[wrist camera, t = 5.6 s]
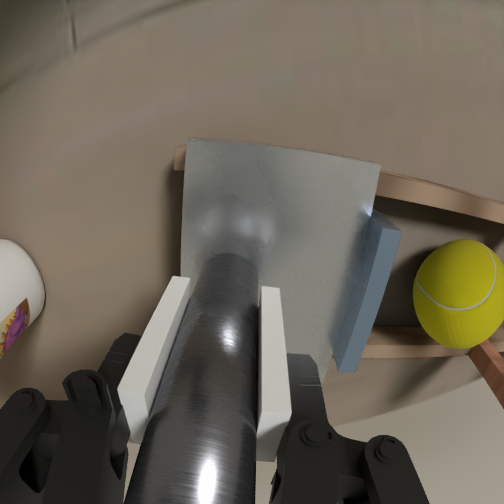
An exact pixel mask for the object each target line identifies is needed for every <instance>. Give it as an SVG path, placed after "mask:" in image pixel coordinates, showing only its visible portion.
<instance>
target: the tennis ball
mask: <svg viewBox="0 0 504 504" xmlns="http://www.w3.org/2000/svg"><path fill="white" fill-rule="evenodd" d="M413 302H414V308H415V311H416V315H417V317H418V320H419V322H420V324H421V325H422V327H423V328H424V330H425V331H426V332H427V333H428V335H429V336H430V337H431V338H433V339H434V340H435V341H436V342H438V343H440V344H441V345H444V346H446V347H449V348H454V349H467V348H471V347H474V346H476V345H478V344H480V343H482V342H483V341H485V340H486V339H488V338H489V337H490V336H491V335H492V334H493V333H494V332H495V331H496V330H497V329H498V327H499V326H500V325H501V323H502V322H503V320H504V265H503V263H502V262H501V260H500V259H499V257H498V256H497V255H496V254H495V253H494V252H493V251H492V250H491V249H490V248H488V247H487V246H486V245H484V244H482V243H481V242H478V241H475V240H469V239H460V240H455V241H451V242H448V243H446V244H444V245H442V246H440V247H438V248H437V249H435V250H434V251H433V252H432V253H431V254H430V255H429V256H428V257H427V258H426V259H425V260H424V262H423V263H422V264H421V266H420V268H419V270H418V272H417V275H416V277H415V280H414V285H413Z"/></svg>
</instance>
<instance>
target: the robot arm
mask: <svg viewBox="0 0 504 504" xmlns="http://www.w3.org/2000/svg"><path fill="white" fill-rule="evenodd" d="M189 301H190V278H186V277H178V276H173V277H172V279H171V281H170V282H169V284H168V286H167V288H166V290H165V292H164V294H163V296H162V298H161V300H160V302H159V304H158V306H157V308H156V310H155V312H154V314H153V316H152V318H151V320H150V322H149V324H148V326H147V328H146V330H145V332H144V334H143V336H139V335H133V334H128V333H124V334H123V335H122V336H120V337H119V338H118V339H116V340H115V341H114V343H113V345H112V347H111V348H110V350H109V352H108V354H107V355H106V357H105V360H104V361H103V362H102V364H101V366H100V368H99V370H98V371H97V372H95V371H92V370H79V371H76V372H73V373H71V374H70V375H68V376H67V377H66V378H65V379H64V381H63V382H62V384H63V387H64V389H65V392H66V394H67V396H68V399H69V400H67V401H56V400H45V398H44V396H43V394H42V393H41V392H39V391H38V390H36V389H33V388H23V389H20V390H18V391H16V392H15V393H14V394H13V395H12V396H11V397H10V398H9V399H8V400H7V402H6V403H5V404H4V405H3V407H2V408H1V409H0V504H123V499H124V488H125V479H126V470H127V462H128V448H127V442H128V439H129V436H131V439H132V442H133V443H137V444H141V443H142V439H143V436H144V433H145V430H146V427H147V424H148V420H149V417H150V414H151V411H152V408H153V405H154V402H155V399H156V396H157V393H158V390H159V387H160V384H161V381H162V378H163V375H164V372H165V369H166V366H167V363H168V360H169V357H170V354H171V351H172V349H173V346H174V343H175V340H176V337H177V334H178V331H179V329H180V326H181V323H182V320H183V318H184V315H185V312H186V309H187V306H188V304H189ZM276 456H277V469H276V472H275V474H274V477H273V479H272V482H271V484H272V491H271V496H270V501H269V504H429V501H428V499H427V496H426V494H425V491H424V489H423V487H422V484H421V482H420V479H419V477H418V475H417V472H416V470H415V468H414V465H413V463H412V461H411V459H410V457H409V454H408V452H407V449H406V448H405V446H404V445H403V443H402V442H401V441H399V440H398V439H396V438H395V437H392V436H389V435H379V436H376V437H373V438H372V439H371V440H369V441H368V442H367V443H366V442H361V441H357V440H352V439H349V438H346V437H343V436H341V435H339V434H338V433H337V432H336V431H335V430H334V429H333V427H332V426H331V425H330V424H329V422H328V419H327V414H326V408H325V403H324V398H323V393H322V388H321V382H320V378H319V372H318V367H317V364H316V363H315V361H314V360H313V359H312V357H311V356H310V355H309V354H292V353H286V346H285V336H284V326H283V316H282V307H281V297H280V288H275V287H265V286H261V293H260V300H259V307H258V364H257V427H256V461H266V462H275V459H276Z"/></svg>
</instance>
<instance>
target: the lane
mask: <svg viewBox="0 0 504 504" xmlns="http://www.w3.org/2000/svg"><path fill="white" fill-rule="evenodd" d="M185 158H186V145H182V146H179V147H175V160H174V170H181V171H185ZM375 195H378V196H384V197H389V198H394V199H399V200H404V201H409V202H414V203H419V204H424V205H428V206H433V207H437V208H442V209H446V210H451V211H455V212H459V213H463V214H467V215H471V216H475V217H479V218H483V219H487V220H491V221H495V222H498V223H502V224H504V203H502V202H499V201H496V200H492V199H489V198H486V197H483V196H480V195H476V194H473V193H469V192H466V191H463V190H459V189H455V188H452V187H448V186H444V185H441V184H437V183H433V182H429V181H425V180H421V179H417V178H413V177H408V176H404V175H400V174H395V173H391V172H386V171H381V170H380V173H379V178H378V183H377V189H376V194H375ZM503 351H504V327H498V329H497V330H496V331H495V332H494V333H493V334H492V335H491V336H490V337H489V338H488V339H486V340H485V341H483V342H482V343H480V344H478V345H476V346H474V347H471V348H467V349H454V348H449V347H446V346H444V345H441V344H440V343H438V342H436V341H435V340H434V339H433V338H431V337H430V336H429V335H428V333H427V332H426V331H425V330H424V328H423V327H395V326H373V327H372V329H371V332H370V335H369V337H368V340H367V343H366V345H365V348H364V350H363V353H362V356H361V358H419V357H443V356H459V355H468V356H469V357H470V359H471V360H472V361H473V363H474V364H475V366H476V367H477V369H478V370H479V372H480V373H481V375H482V376H483V377H484V379H485V380H486V382H487V384H488V385H489V387H490V388H491V390H492V391H493V393H494V394H495V396H496V397H497V399H498V401H499V402H500V404H501V405H502V407H503V409H504V359H503V358H502V356H501V355H500V354H499V353H498V352H503ZM332 357H334V354H332Z"/></svg>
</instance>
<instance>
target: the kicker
mask: <svg viewBox="0 0 504 504" xmlns="http://www.w3.org/2000/svg"><path fill="white" fill-rule="evenodd" d="M380 167H381V165H380V164H377V163H375V162H372V161H369V160H364V159H359V158H354V157H348V156H343V155H337V154H332V153H326V152H320V151H314V150H307V149H301V148H294V147H286V146H279V145H271V144H263V143H254V142H244V141H234V140H223V139H211V138H196V137H193V138H189V139H187V145H186V158H185V173H184V189H183V209H182V235H181V277H186V278H190V301H189V304H188V306H187V309H186V312H185V315H184V318H183V320H182V323H181V326H180V329H179V331H178V334H177V337H176V340H175V343H174V346H173V349H172V351H171V354H170V357H169V360H168V363H167V366H166V369H165V372H164V375H163V378H162V381H161V384H160V387H159V390H158V393H157V396H156V399H155V402H154V405H153V408H152V411H151V414H150V417H149V420H148V424H147V427H146V430H145V433H144V436H143V439H142V443H141V446H140V449H139V453H138V456H137V459H136V463H135V466H134V469H133V473H132V476H131V479H130V483H129V486H128V490H127V493H126V497H125V501H124V504H255V484H256V483H255V482H256V427H257V364H258V307H259V300H260V293H261V286H265V287H275V288H280V297H281V307H282V316H283V326H284V336H285V346H286V353H292V354H309V355H310V356H311V357H312V359H313V360H314V361H315V363H316V364H317V367H318V372H319V378H320V382H323V380H324V377H325V374H326V372H327V369H328V366H329V363H330V360H331V357H332V354H334V358H335V362H336V365H337V369H338V372H355V370H356V368H357V365H358V363H359V360H360V358H361V356H362V353H363V350H364V348H365V345H366V343H367V340H368V337H369V335H370V332H371V329H372V327H373V324H374V321H375V318H376V315H377V313H378V310H379V307H380V304H381V301H382V298H383V295H384V292H385V289H386V285H387V282H388V279H389V276H390V272H391V269H392V266H393V262H394V259H395V255H396V252H397V248H398V244H399V241H400V237H401V233H402V231H401V230H400V229H399V228H398V227H396V226H395V225H394V224H393V223H392V222H390V221H389V220H388V219H387V218H386V217H384V216H383V215H382V214H381V213H380V212H378V211H377V210H376V209H375V208H373V204H374V199H375V194H376V189H377V183H378V178H379V173H380Z"/></svg>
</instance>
